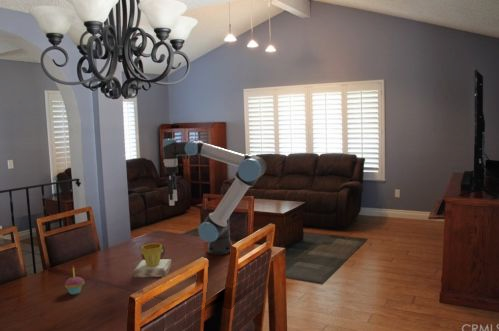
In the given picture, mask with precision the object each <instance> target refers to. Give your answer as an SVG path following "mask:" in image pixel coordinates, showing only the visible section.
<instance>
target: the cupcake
mask: <svg viewBox="0 0 499 331" xmlns="http://www.w3.org/2000/svg"><path fill="white" fill-rule="evenodd" d="M75 273H76V272H75V267H74V265H72V275H73V276H72V277H69V278H68V279H66V281H64V287H65V288H66V289H67V291H68V293H69V295H76V294H80V293H81V290H82V287H83V285H85V279H83V277H79V276H76V274H75Z"/></svg>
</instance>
